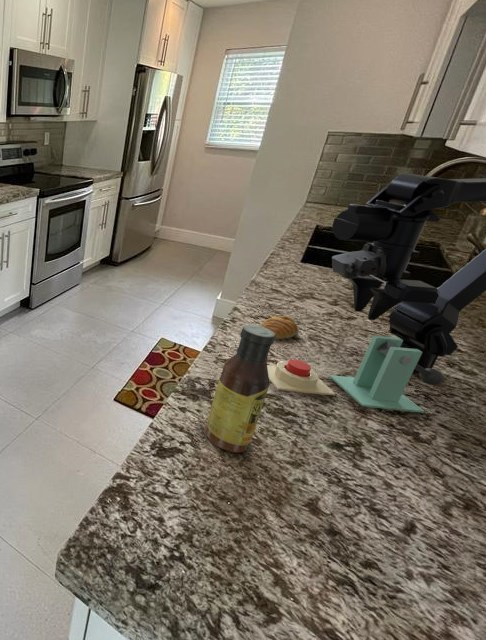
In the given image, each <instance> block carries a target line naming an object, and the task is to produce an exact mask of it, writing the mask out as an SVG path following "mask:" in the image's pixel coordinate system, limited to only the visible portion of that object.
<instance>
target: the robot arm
mask: <svg viewBox="0 0 486 640" xmlns="http://www.w3.org/2000/svg"><path fill="white" fill-rule="evenodd" d="M476 202H477V203H478V202H480V203H481V202H486V177H483V178H482V177H481V178H478V177H477V178H442V177H437V176H436V177H435V176H430V175H429V176H428V175H422V174H416V173H401V174H398V175H396V176H395V178H394V179H392V180H391V181H390V182H389V183H388V184H387V185H386V186H385V187H384V188H382V189H381V190H380V191H379V192H378V193H376V194H375V195H374V196H373V197H372V198H370V199H369V200H368V201H366V202H365V204H364V205H363V204H358V203H350V204H348V206H347V209H345V210H343V211H341V212H340V213H339V214H338V215H336V217H335V218H334V219H333V222H332V232H333V235H334V236H335V238H337V239H338V240H341V241H353V242H354V241H356V242H366V243H365V244H364V245H363V247H362V249H361V250H358V251H357V250H356V251H350V252H344V253H340V254H335V255H333V256H331V262H332V263H331V267H332V273H335V274H338V275H340V276H341V277H342V278H344V279H347V280H348V281H349V282H350V283H351V285H352V291H353V308H354V311H355V312H359V313H361V312H362V311H363V310H364V309H366V307H367V306H368V304H369V303H370V302H371V304H370V308H369V310H368V315H367V319H368V320H369V321H375V320H378V318H379V317H381V316H382V315H384V314H385V313H387V312H388V311H389V310H391V309H393V310H392V311H391V312H390V313H389V315H388V318H389V320H388V323H389V334H391V335H394V336H395V337H398V338H400V339H402V340H403V342H402V344H401V346H400V348H411V349H418V350H420V351H422V354H421V356H420V358H419V361H418V363H417V364H418V365H420V366H421V367H423V368H424V369H426V368H433V367H434V365H435V363H436V362H437V360H438V358H439V357H442V358H443V357H445V356H451V355H452V354H453V353H454V352H455V351H456V350H457V349H458V347H459V346H458V345H457V343H456V341H455V339H453V337H452V335H451V334H450V333H452V332H453V331H454V330H455V328H457V326H458V322H459V321H458V320H459V315H460V312H461V311H462V310H463V309H464V308H466V307H467V306H468V305H470V304H471V303H472V302H473V301H475V300H476V299H477V298H479V296H480V297H481V295H482V294H483V293H485V292H486V248H485V249H484V250H482V251H481V252H479V254H478V255H476V256H475V257H474V258H472V259H471V260H470V261H469V262H467V264H465V265H464V266H463V267H462V268H460V269H459V270H458V271H457V272H455V273H454V274H452V275H451V277H450V278H448V279H447V280H446V281H445V282H443V283H442V284H441V285H440V286H439V287H435V286H433V285H431V284H428V283H426V282H424V281H422V280H415V279H409V278H410V276H411V274H412V272H410V271H408V270H407V267H408V264H409V263H410V260H411V258H419V255H420V253H421V252H420V251H417V250H416V249H415V248H416V246H417V244H418V242H419V239H420V237H421V235H422V233H423V231H424V228H425V226H426V224H427V222H432V223H436V222H437V223H439V222H440V221H441V217H439V215H437V214H436V213H435V211H434V210H437V209H443V208H447V207H450V206H451V205H452V204H457V203H476ZM401 278H407V279H401ZM371 300H372V301H371ZM433 369H434V368H433ZM413 373H414V374H419V372H418V371H416V370H415V369H414V371H413ZM413 373H412V374H413Z"/></svg>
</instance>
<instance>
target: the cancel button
mask: <svg viewBox="0 0 486 640" xmlns="http://www.w3.org/2000/svg"><path fill="white" fill-rule="evenodd" d="M287 361H288V363H287V366H286V370H287V371H288V372H290V373H292V374H294V375H297V376H300V377H308V375H309V372H310V370H311V369H312V367H311V365H309V364H308V363H306V362H305V361H302V360H300V359H293V358H291V359H289V360H287Z"/></svg>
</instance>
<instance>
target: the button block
mask: <svg viewBox="0 0 486 640" xmlns="http://www.w3.org/2000/svg"><path fill="white" fill-rule="evenodd" d="M288 361H289V360H280V361H278V362H277V363H276V365H271V364H270V365H269V364H267V369H268V376H269V382H270V383H271V384H272V385H273V386H274V387H275V389H276V390H278V391H288V392H296V393H297V392H298V393H305V394H306V393H307V394H314V395H315V394H316V395H325V396H336V393H335V392H334V391H333V390H332V389H331V387H329V386H328V385H327V384H326V383H325V382H324V381H322V380H321V379H320V378H319V375H318V374H317V372H316V371H315V370H314V369H312V368H311V370H310V372H309V375H308V377H300V376H297V375H294V374H292V373H290V372H288V371H287V370H286V366H287V363H288Z"/></svg>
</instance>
